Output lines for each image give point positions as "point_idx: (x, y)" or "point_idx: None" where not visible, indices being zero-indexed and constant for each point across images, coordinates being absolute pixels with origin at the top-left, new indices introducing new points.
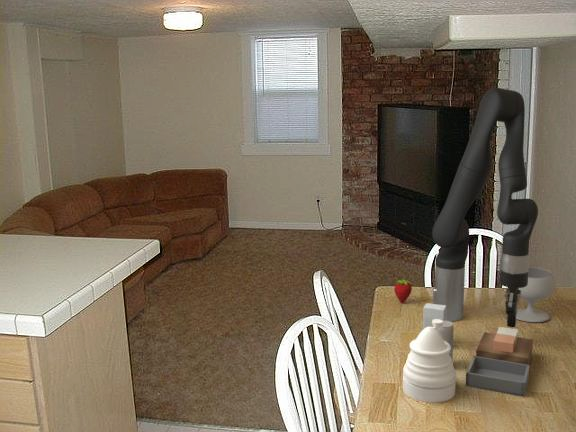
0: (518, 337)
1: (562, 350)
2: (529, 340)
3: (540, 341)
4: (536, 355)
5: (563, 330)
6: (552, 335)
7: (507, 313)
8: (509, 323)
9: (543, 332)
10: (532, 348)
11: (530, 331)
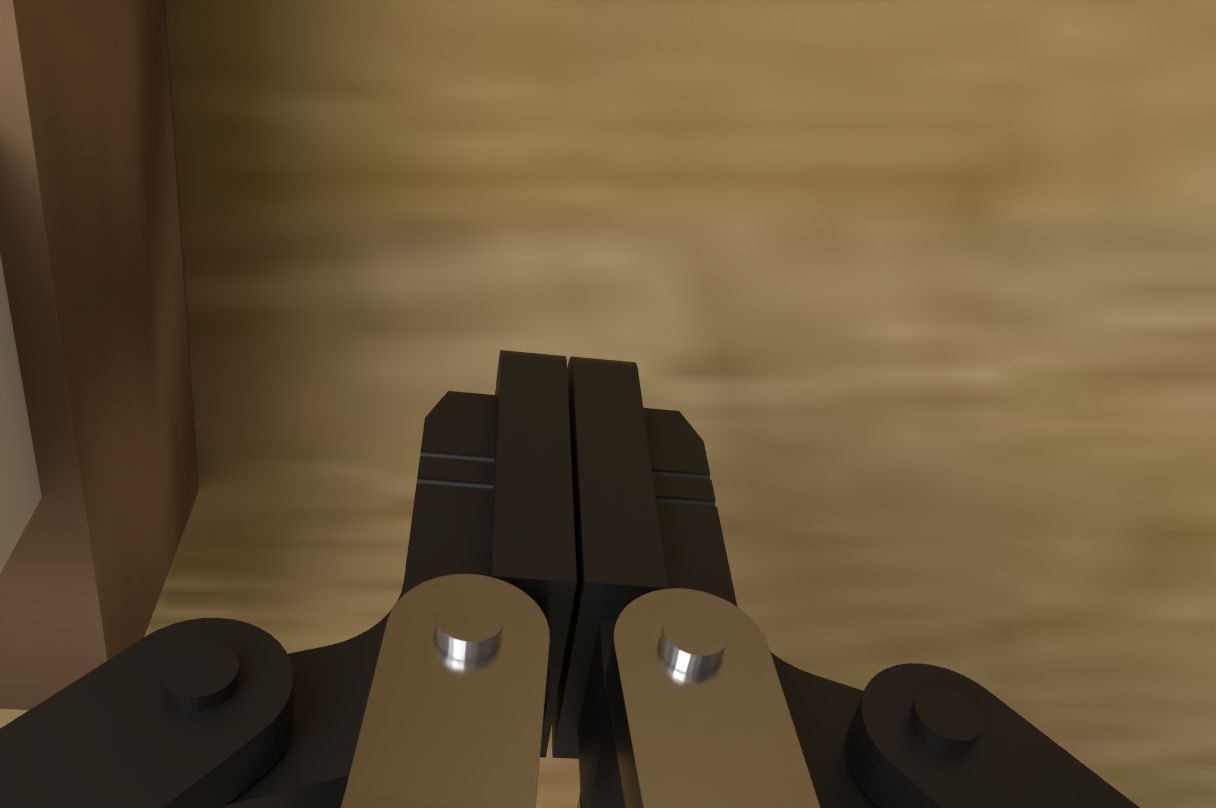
0: (77, 512)
1: (557, 771)
2: (23, 671)
3: (802, 586)
4: (264, 538)
5: (1200, 789)
6: (1033, 699)
7: (98, 700)
8: (424, 452)
9: (1140, 619)
10: (163, 582)
11: (1185, 481)
